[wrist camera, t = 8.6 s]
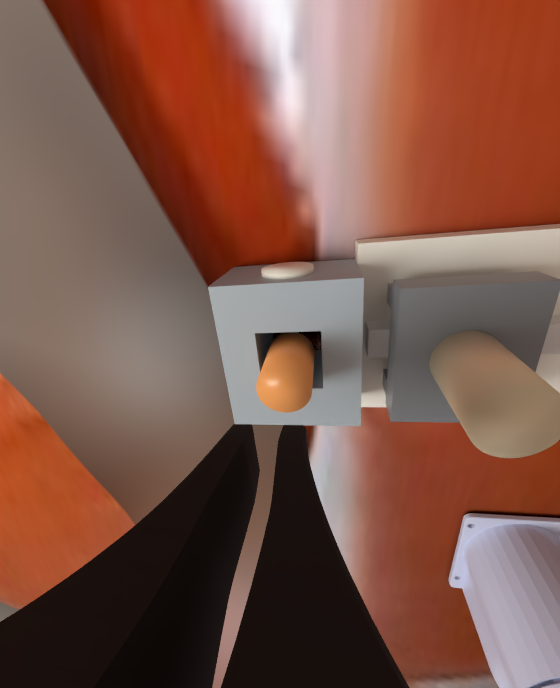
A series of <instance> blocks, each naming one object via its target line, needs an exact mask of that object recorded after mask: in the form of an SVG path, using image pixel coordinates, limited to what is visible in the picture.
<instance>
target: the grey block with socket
mask: <svg viewBox="0 0 560 688" xmlns="http://www.w3.org/2000/svg"><path fill="white" fill-rule="evenodd" d="M208 289H209V294H210V299H211V304H212V310H213V314H214V319H215V325H216V330H217V334H218V340H219V345H220V351H221V356H222V361H223V366H224V371H225V376H226V381H227V386H228V391H229V397H230V402H231V407H232V412H233V417H234V422H235V424H263V425H266V424H267V425H324V426H361V386H362V342H363V298H364V277H363V275H362V273H361V270H360V268H359V266H358V264H357V262H356V260H355V259H343V260H329V261H314V262H285V263H277V264H271V265H256V266H242V267H234V268H232V269H231V270H230V271H228V272H227V273H226V274H224V275H223V276H222V277H221V278H219V279H218V280H217V281H215V282H214V283H213V284H211V285H210V286H209V287H208ZM310 331H321V342H322V349H320V350H315V357H314V371H313V385H312V395H311V399H310V401H309V402H308V403H307V405H306V406H305V407H303V408H302V409H300V410H298V411H295V412H289V413H284V412H278V411H275V410H272V409H270V408H269V407H267V406H266V405H265V404H264V403H263V402H262V401H261V400H260V398H259V397H258V394H257V390H256V384H257V380H258V377H259V375H260V372H261V369H262V367H263V364H264V361H265V358H266V356H267V353H268V350H269V348H270V345H271V343H272V341H273V340H274V337H273V333H280V332H310Z"/></svg>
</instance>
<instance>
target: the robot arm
mask: <svg viewBox="0 0 560 688" xmlns="http://www.w3.org/2000/svg"><path fill="white" fill-rule="evenodd" d="M259 472H260V469H259V463H258V457H257V451H256V446H255V440H254V433H253V427H252V424H234V425H233V426H232V427H231V428H230V429H229V430H228V431H227V432H226V433H225V435H224V436H223V437H222V438H221V439H220V441H219V442H218V443H217V444H216V445H215V446H214V447H213V449H212V450H211V451H210V452H209V453H208V454H207V455H206V456H205V458H204V459H203V460H202V461H201V462H200V463H199V464H198V465H197V466H196V468H194V470H193V471H192V472H191V473H190V474H189V475H188V476H187V477H186V478H185V479H184V480H183V481H182V482H181V483H180V484H179V485H178V486H177V487H176V488H175V489H174V490H173V491H172V492H171V493H170V494H169V495H168V496H167V497H166V498H165V499H164V500H163V501H162V502H161V503H160V504H159V505H158V506H157V507H155V508H154V509H153V511H151V512H150V513H149V514H148V515H147V516H146V517H144V518H143V519H142V520H141V521H140V522H139V523H137V524H136V525H135V526H134V527H133V528H132V529H130V530H129V531H128V532H127V533H126V534H124V535H123V536H122V537H121V538H119V539H118V540H117V541H115V542H114V543H113V544H112V545H110V546H109V547H108V548H106V549H105V550H104V551H103V552H101V553H100V554H99V555H97V556H96V557H95V558H94V559H92V560H91V561H90V562H88V563H87V564H86V565H84V566H83V567H82V568H80V569H79V570H77V571H76V572H75V573H73V574H72V575H70V576H69V577H68V578H66V579H65V580H63V581H62V582H61V583H59V584H58V585H56V586H55V587H53V588H52V589H50V590H49V591H47V592H46V593H44V594H43V595H41V596H40V597H39V598H37V599H36V600H34V601H33V602H31V603H29V604H28V605H26V606H25V607H23V608H22V609H20V610H19V611H17V612H16V613H14V614H12V615H11V616H9V617H8V618H6V619H4V620H3V621H1V622H0V688H212V685H213V680H214V674H215V668H216V663H217V657H218V652H219V646H220V641H221V635H222V629H223V625H224V620H225V615H226V609H227V603H228V599H229V595H230V590H231V586H232V582H233V578H234V574H235V571H236V567H237V564H238V560H239V556H240V553H241V549H242V546H243V542H244V539H245V535H246V532H247V528H248V524H249V521H250V517H251V513H252V510H253V506H254V502H255V496H256V491H257V485H258V478H259ZM448 580H449V584H450V585H451V586H452V587H455V588H462V589H463V592H464V595H465V598H466V601H467V604H468V606H469V609H470V612H471V615H472V618H473V621H474V624H475V627H476V629H477V632H478V635H479V638H480V641H481V644H482V647H483V650H484V652H485V655H486V658H487V661H488V664H489V667H490V670H491V672H492V674H493V677H494V679H495V681H496V683H497V685H498V686H499V688H560V518H547V517H529V516H512V515H495V514H477V513H468V514H466V515H464V517H463V521H462V525H461V529H460V534H459V538H458V542H457V546H456V550H455V554H454V559H453V563H452V567H451V571H450V575H449V579H448ZM221 688H409V686H408V685H407V683H406V681H405V679H404V677H403V676H402V674H401V672H400V670H399V668H398V667H397V665H396V663H395V661H394V659H393V658H392V656H391V654H390V652H389V650H388V648H387V646H386V644H385V643H384V641H383V639H382V637H381V635H380V633H379V631H378V629H377V627H376V626H375V624H374V622H373V620H372V618H371V616H370V614H369V612H368V610H367V608H366V606H365V604H364V602H363V599H362V597H361V595H360V593H359V591H358V589H357V587H356V585H355V583H354V581H353V579H352V577H351V575H350V573H349V571H348V568H347V566H346V564H345V562H344V559H343V557H342V555H341V553H340V550H339V548H338V546H337V543H336V541H335V538H334V536H333V533H332V531H331V528H330V526H329V523H328V521H327V518H326V515H325V512H324V510H323V507H322V504H321V501H320V498H319V495H318V492H317V488H316V485H315V482H314V478H313V474H312V471H311V467H310V462H309V458H308V444H307V430H306V428H305V427H304V426H303V425H283V428H282V431H281V434H280V438H279V441H278V448H277V457H276V466H275V476H274V485H273V494H272V502H271V508H270V514H269V518H268V522H267V526H266V530H265V535H264V539H263V543H262V547H261V551H260V555H259V559H258V563H257V567H256V570H255V574H254V578H253V582H252V586H251V589H250V593H249V596H248V600H247V603H246V606H245V610H244V613H243V617H242V620H241V624H240V627H239V631H238V635H237V638H236V642H235V645H234V648H233V651H232V654H231V657H230V660H229V664H228V667H227V670H226V673H225V677H224V679H223V683H222V686H221Z"/></svg>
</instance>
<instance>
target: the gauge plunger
mask: <svg viewBox="0 0 560 688" xmlns="http://www.w3.org/2000/svg"><path fill="white" fill-rule="evenodd" d="M314 357H315V350H314V346H313V344H312V342H311V341H310V340H309V339H308V338H307V337H306V336H304V335H303V334H300V333H297V332H285V333H282V334H280V335H278V336H277V337H276V338H274V340H273V341H272V343H271V345H270V348H269V350H268V353H267V356H266V358H265V361H264V364H263V367H262V369H261V372H260V375H259V377H258V380H257V384H256V390H257V394H258V397H259V398H260V400H261V401H262V402H263V403H264V404H265V405H266V406H267V407H269V408H270V409H272V410H275V411H278V412H284V413H289V412H295V411H298V410H300V409H302V408H303V407H305V406H306V405H307V403H308V402H309V401H310V399H311V395H312V385H313V371H314Z"/></svg>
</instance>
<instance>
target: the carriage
mask: <svg viewBox="0 0 560 688" xmlns="http://www.w3.org/2000/svg"><path fill="white" fill-rule="evenodd" d="M559 292H560V279H558V278H555V277H553V276H550V275H547V274H544V273H541V272H539V271H531V272H514V273H497V274H479V275H462V276H444V277H427V278H410V279H393V283H388V291H387V303H388V305H389V307H390V309H391V322H390V338H389V353H388V369H383V380H382V384H383V388H384V391H385V394H386V401H385V403H386V407H387V410H388V414H389V417H390V421H391V422H460V423H461V425H462V427H463V428H464V430H465V432H466V433H467V435H468V437H469V438H470V440H471V442H472V443H473V444H474V445H475V446H476V447H477V448H478V449H479V450H481V451H482V452H484V453H486V454H489V455H492V456H495V457H501V458H519V457H525V456H530V455H533V454H536V453H539V452H541V451H543V450H545V449H547V448H549V447H551V446H552V445H553V444H555V443H556V442H557V441H558V440H560V393H559V392H558V391H557V390H556V389H554V388H553V387H552V386H551V385H550V384H548V383H547V382H546V381H545V380H544V379H542V378H541V377H540V376H539V375H538V374H537V373H535V372H536V369H537V365H538V362H539V359H540V355H541V352H542V349H543V345H544V342H545V339H546V335H547V332H548V329H549V325H550V322H551V318H552V315H553V312H554V308H555V305H556V302H557V298H558V295H559Z"/></svg>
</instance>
